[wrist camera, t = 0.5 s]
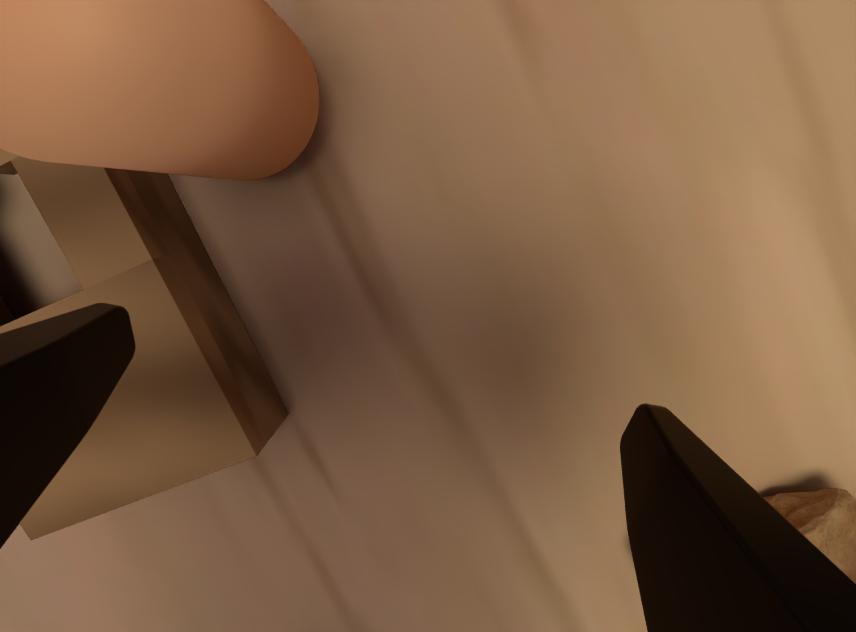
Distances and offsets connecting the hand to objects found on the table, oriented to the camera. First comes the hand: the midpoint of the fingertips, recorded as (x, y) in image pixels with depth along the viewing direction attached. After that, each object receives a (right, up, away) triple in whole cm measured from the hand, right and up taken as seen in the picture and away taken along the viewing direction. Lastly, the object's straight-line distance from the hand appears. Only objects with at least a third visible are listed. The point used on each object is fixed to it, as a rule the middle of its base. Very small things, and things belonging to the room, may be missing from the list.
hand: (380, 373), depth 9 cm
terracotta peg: (-6, +10, +12) cm, 16 cm away
